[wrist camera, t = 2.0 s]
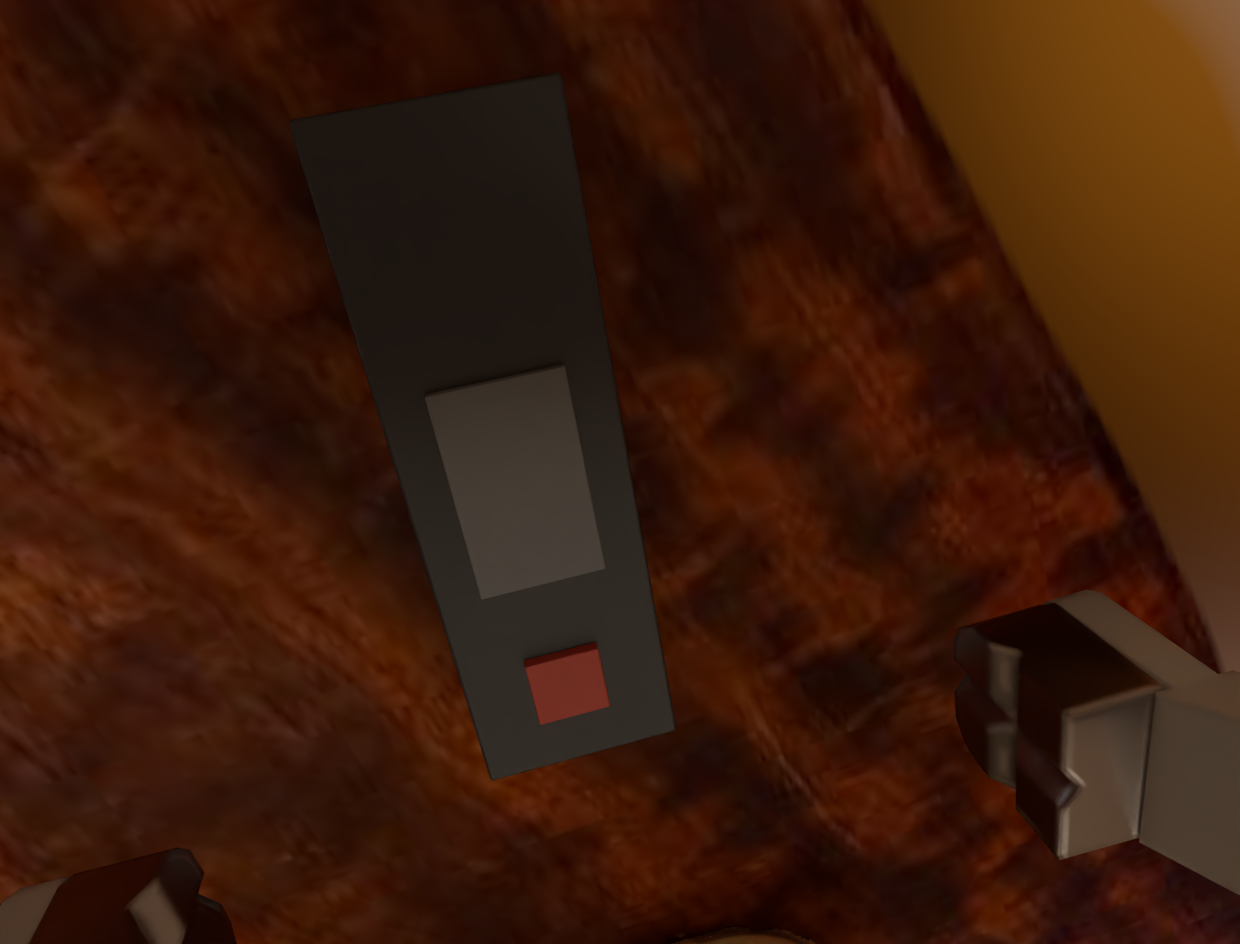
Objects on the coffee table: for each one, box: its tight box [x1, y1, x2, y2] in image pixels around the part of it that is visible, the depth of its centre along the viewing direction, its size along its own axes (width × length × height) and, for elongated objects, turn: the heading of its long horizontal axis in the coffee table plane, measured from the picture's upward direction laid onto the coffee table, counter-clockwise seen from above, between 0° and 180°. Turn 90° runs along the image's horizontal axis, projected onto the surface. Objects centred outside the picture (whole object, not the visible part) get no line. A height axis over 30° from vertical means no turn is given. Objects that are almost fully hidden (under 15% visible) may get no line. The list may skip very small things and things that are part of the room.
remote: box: [289, 73, 676, 780], centre depth 17 cm, size 14×4×3 cm, turn 10°
